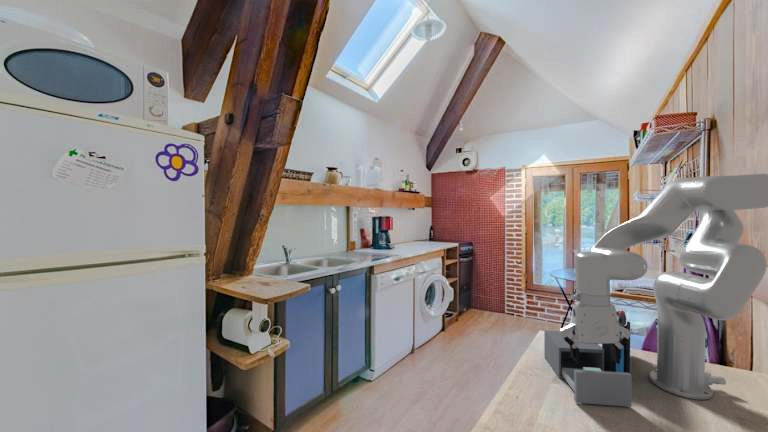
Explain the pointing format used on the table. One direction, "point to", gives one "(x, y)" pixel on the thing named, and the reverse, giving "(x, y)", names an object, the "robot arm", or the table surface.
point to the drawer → (599, 386)
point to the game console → (625, 351)
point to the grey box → (560, 353)
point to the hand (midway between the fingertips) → (595, 360)
